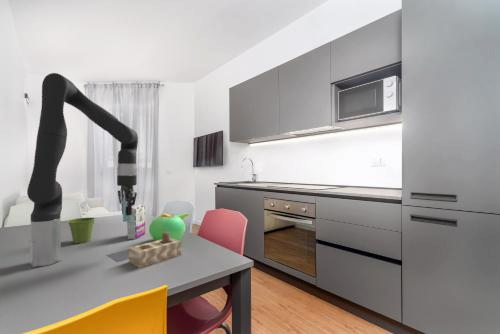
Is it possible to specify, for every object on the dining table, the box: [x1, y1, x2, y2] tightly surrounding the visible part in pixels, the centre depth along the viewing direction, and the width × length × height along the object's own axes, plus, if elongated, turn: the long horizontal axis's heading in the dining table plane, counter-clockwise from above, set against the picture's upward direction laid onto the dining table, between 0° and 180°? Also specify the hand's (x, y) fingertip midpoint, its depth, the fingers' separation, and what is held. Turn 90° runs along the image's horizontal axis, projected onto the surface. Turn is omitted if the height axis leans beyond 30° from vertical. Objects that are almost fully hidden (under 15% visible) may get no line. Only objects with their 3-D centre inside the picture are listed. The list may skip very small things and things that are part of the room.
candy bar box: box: [126, 204, 146, 240], centre depth 134 cm, size 11×5×16 cm, turn 179°
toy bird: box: [148, 212, 191, 241], centre depth 125 cm, size 18×17×15 cm
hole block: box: [128, 238, 182, 269], centre depth 102 cm, size 18×9×6 cm, turn 140°
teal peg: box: [122, 197, 131, 223], centre depth 105 cm, size 3×3×10 cm
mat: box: [105, 248, 129, 263], centre depth 106 cm, size 12×12×1 cm
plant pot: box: [67, 217, 96, 244], centre depth 126 cm, size 12×12×11 cm
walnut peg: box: [162, 231, 170, 244], centre depth 105 cm, size 3×3×10 cm
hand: (126, 214), depth 105 cm, fingers closed on teal peg, 3 cm apart
